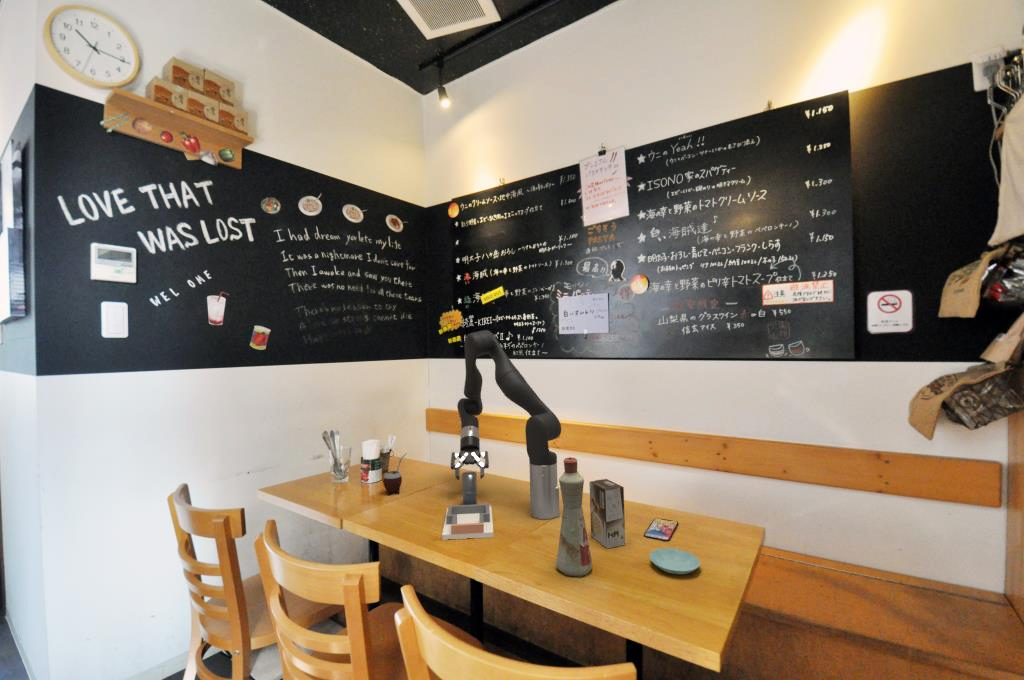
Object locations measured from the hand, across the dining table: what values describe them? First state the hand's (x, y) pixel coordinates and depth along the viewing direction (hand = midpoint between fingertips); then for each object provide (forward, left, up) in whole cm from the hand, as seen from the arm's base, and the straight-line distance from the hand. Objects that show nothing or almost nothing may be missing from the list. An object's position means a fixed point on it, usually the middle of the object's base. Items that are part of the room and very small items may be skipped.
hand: (469, 478), depth 161 cm
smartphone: (-58, +33, -9) cm, 67 cm away
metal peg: (0, +3, -8) cm, 9 cm away
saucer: (-52, +55, -9) cm, 76 cm away
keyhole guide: (0, +21, -8) cm, 23 cm away
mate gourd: (+30, -14, -9) cm, 34 cm away
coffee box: (-40, +38, -9) cm, 56 cm away
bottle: (-27, +53, -9) cm, 60 cm away
